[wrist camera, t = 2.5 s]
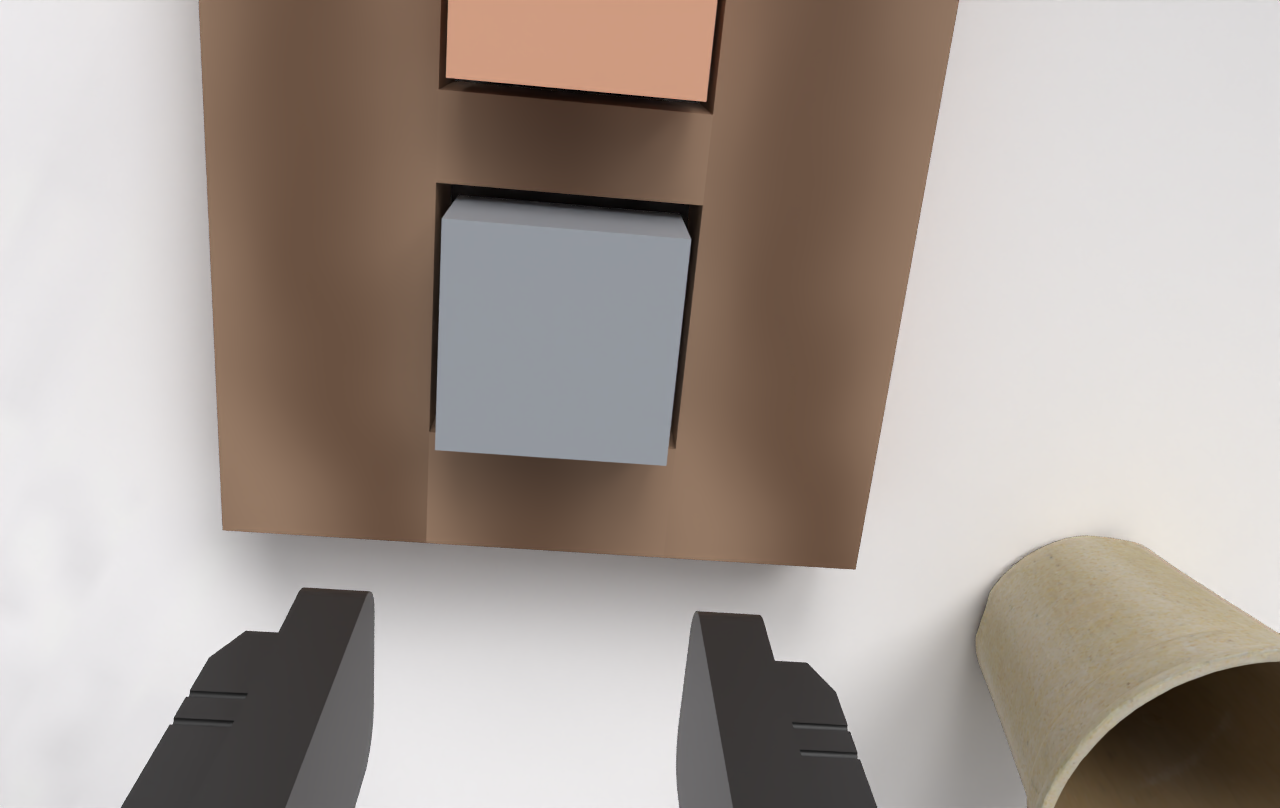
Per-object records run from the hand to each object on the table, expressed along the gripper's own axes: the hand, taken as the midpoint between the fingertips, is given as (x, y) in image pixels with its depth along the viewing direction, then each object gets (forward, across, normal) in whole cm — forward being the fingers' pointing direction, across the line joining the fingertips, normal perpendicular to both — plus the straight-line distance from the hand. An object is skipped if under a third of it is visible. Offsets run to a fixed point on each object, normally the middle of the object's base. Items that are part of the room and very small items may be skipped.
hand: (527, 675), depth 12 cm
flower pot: (+17, -16, +9) cm, 25 cm away
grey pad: (+15, 0, 0) cm, 15 cm away
